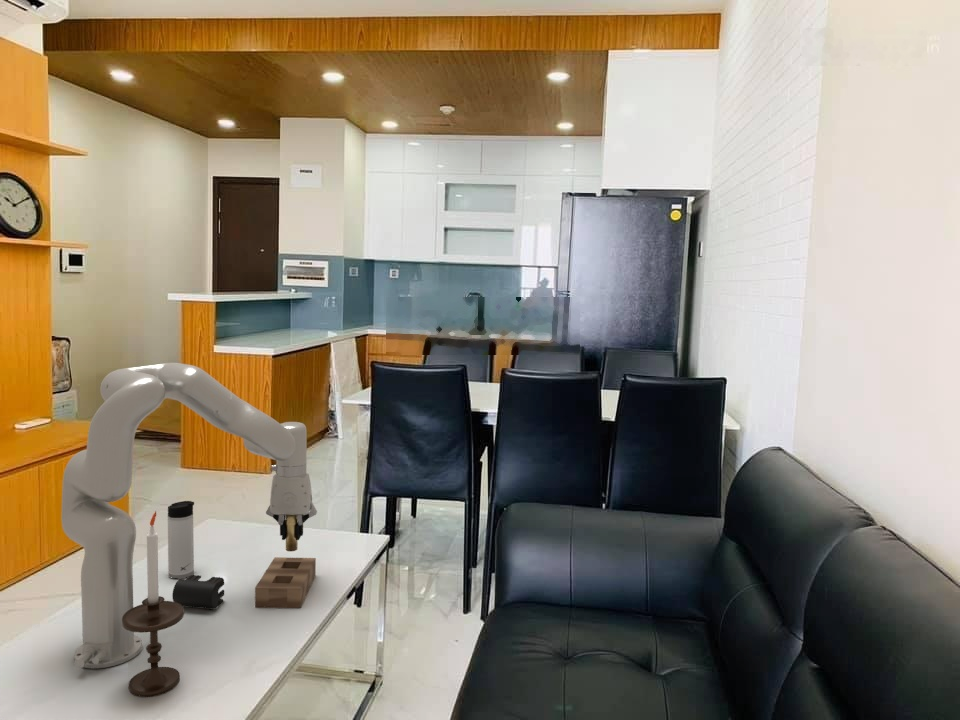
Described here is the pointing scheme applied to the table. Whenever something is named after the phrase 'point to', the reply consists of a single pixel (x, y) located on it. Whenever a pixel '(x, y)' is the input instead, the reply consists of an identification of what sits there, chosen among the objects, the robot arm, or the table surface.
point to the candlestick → (153, 628)
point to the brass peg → (291, 533)
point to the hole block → (285, 583)
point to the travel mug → (180, 539)
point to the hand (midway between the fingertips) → (291, 537)
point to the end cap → (198, 592)
